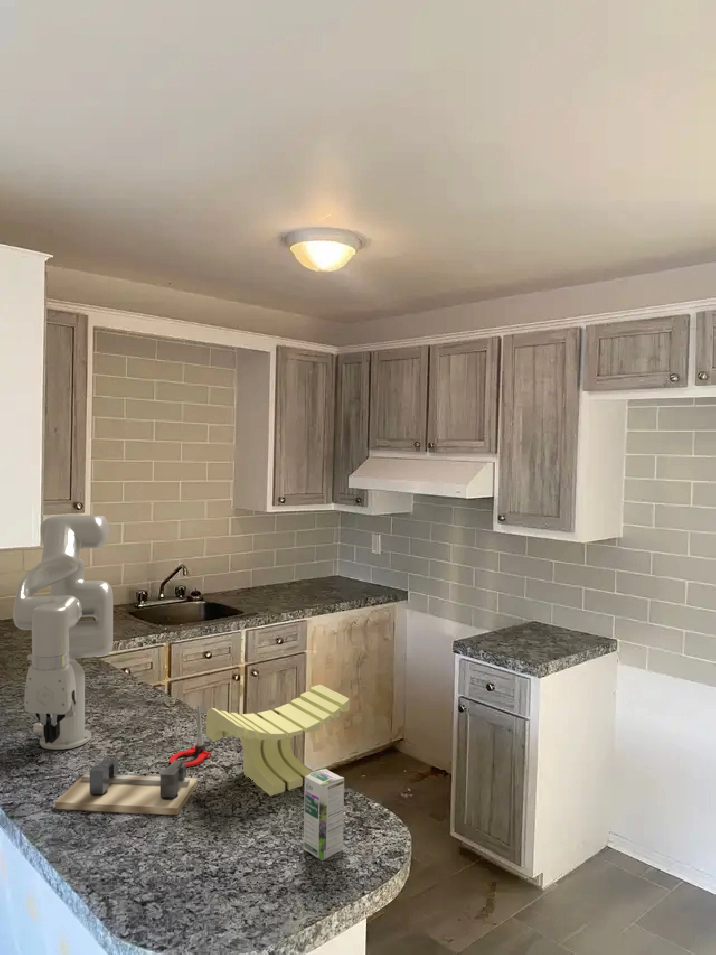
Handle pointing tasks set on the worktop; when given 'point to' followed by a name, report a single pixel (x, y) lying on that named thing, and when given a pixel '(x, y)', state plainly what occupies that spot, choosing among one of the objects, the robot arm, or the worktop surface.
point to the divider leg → (103, 775)
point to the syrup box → (323, 813)
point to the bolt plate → (134, 793)
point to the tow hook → (198, 748)
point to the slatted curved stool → (277, 736)
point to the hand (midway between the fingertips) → (51, 740)
